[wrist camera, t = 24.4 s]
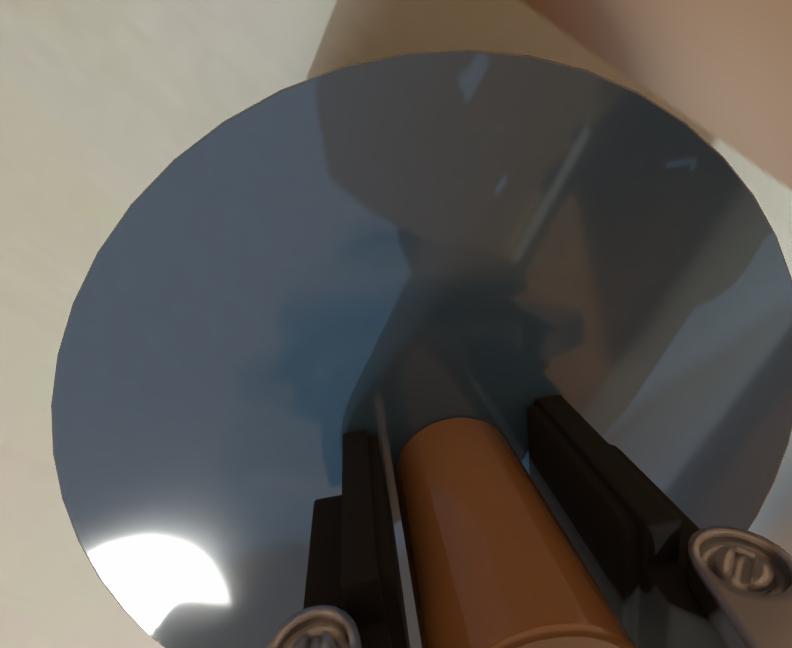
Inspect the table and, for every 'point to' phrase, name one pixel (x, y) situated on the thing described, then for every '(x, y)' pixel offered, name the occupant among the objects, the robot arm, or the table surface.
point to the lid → (416, 345)
